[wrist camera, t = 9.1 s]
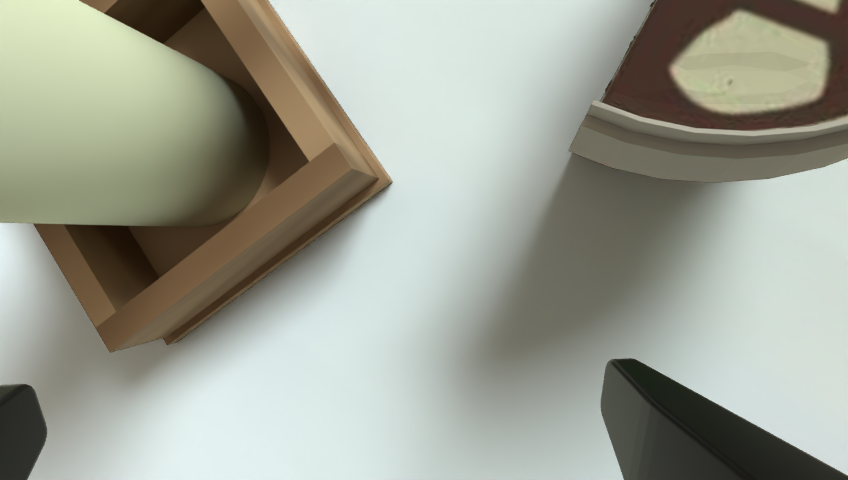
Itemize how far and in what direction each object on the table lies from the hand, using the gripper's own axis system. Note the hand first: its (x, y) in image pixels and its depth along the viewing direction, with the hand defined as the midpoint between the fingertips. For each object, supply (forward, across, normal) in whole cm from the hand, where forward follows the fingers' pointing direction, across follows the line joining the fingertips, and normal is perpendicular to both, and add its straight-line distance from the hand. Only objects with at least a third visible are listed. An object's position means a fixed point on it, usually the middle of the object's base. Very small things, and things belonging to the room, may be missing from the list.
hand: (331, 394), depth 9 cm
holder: (+15, +6, -1) cm, 16 cm away
